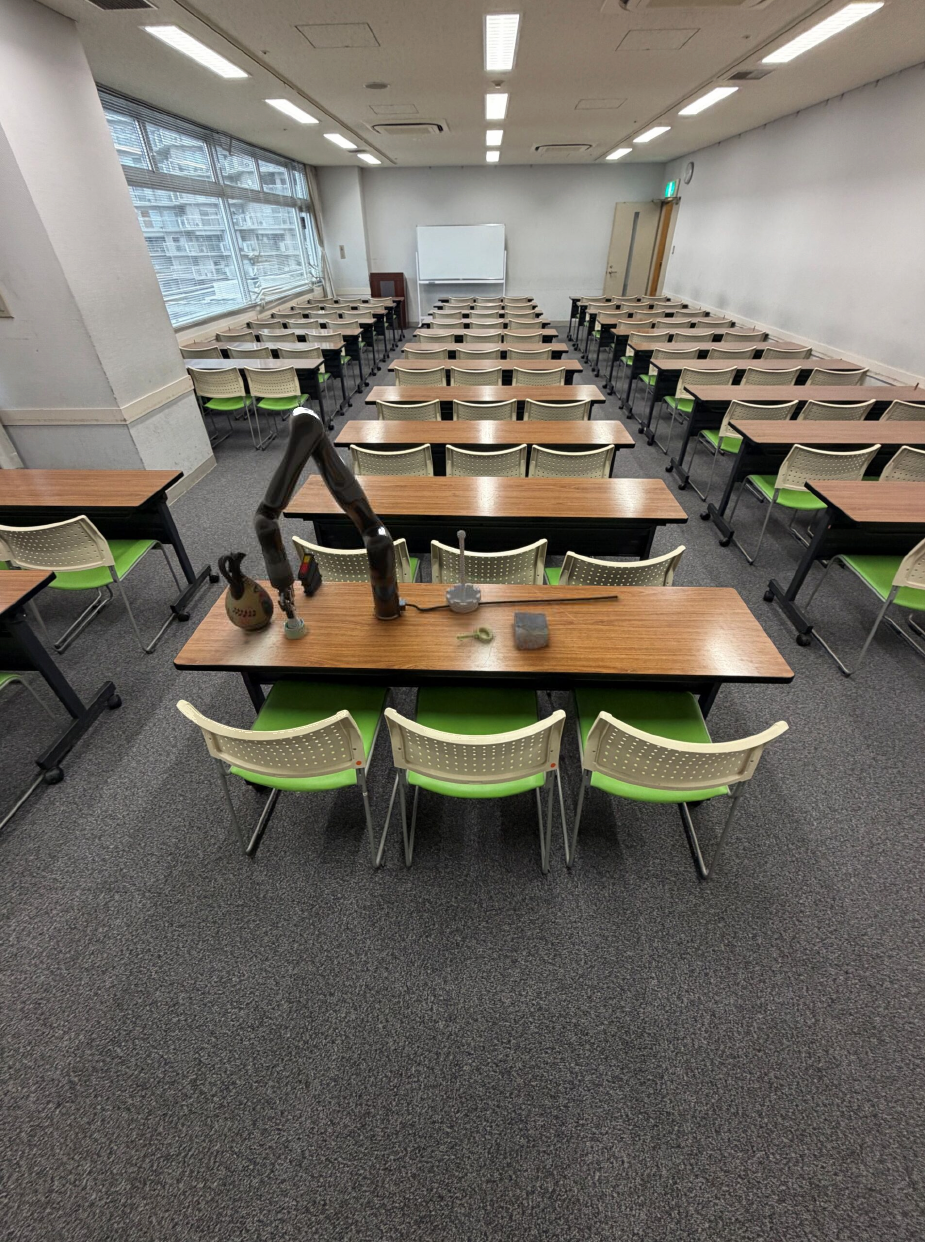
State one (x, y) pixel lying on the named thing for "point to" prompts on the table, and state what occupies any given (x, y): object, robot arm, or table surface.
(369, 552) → the robot arm
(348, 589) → the table surface
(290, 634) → the cup
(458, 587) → the flag stand
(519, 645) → the geological specimen
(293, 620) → the rook chess piece
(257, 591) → the ceramic jug
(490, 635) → the key
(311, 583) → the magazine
